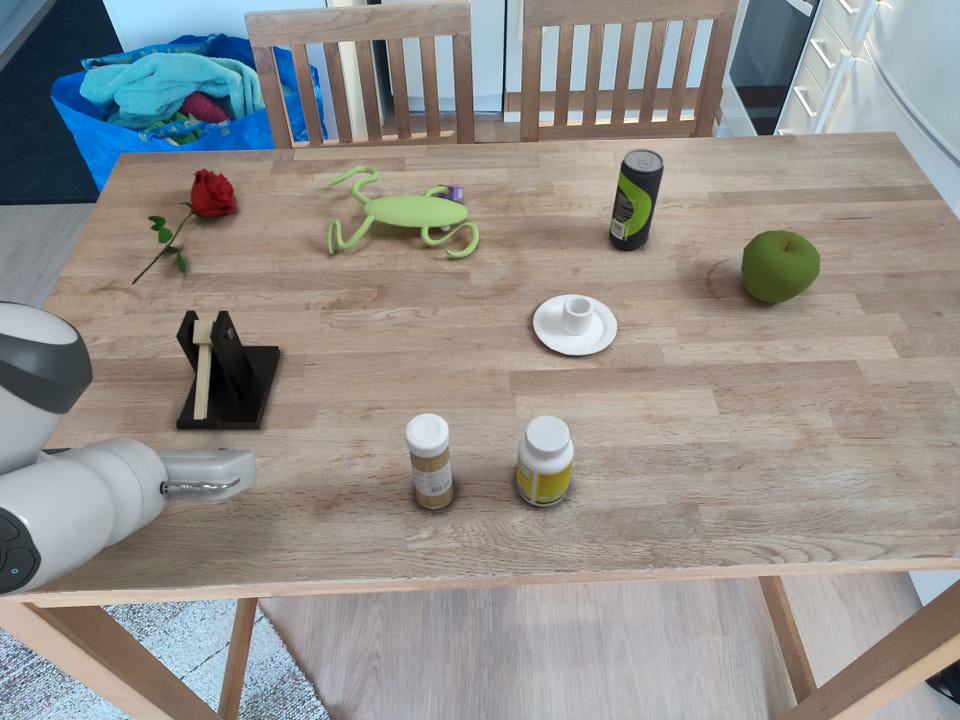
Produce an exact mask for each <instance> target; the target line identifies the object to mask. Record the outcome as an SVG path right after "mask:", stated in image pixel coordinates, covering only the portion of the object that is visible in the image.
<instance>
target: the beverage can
mask: <svg viewBox="0 0 960 720" xmlns="http://www.w3.org/2000/svg"><path fill="white" fill-rule="evenodd" d="M664 166H665V165H664V158H663V156H662V155H661V154H660V153H658V152H656V151H654V150H652V149H647V148H635V149H632V150H629V151H627V152H626V153H625V154H624V156H623V160H622V161H621V163H620V168H619V174H618V180H617V186H616V191H615V197H614V202H613V208H612V212H611V213H612V214H611V218H610V219H611V220H610V224H609V232H608V238H609V240H610V242H611V243H612V244H613V245H614V246H615V247H617V248H619V249H621V250H623V251H624V250H625V251H634V250H638V249H640V248H641V247H643V246H644V245H646V244H647V241H648V239H649V234H650V229H651V226H652V222H653V217H654V212H655V210H656V205H657V201H658V195H659V191H660V187H661V182H662V179H663V174H664V170H665V167H664Z"/></svg>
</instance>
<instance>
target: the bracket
mask: <svg viewBox="0 0 960 720" xmlns="http://www.w3.org/2000/svg"><path fill="white" fill-rule="evenodd" d="M195 320H200V318H199V316H198V314H197V311H196V310H191V309H189V310H186V312H185V314H184V317H183V319H182V321H181V324H180V326H179V328H178V331H177V332H176V335H175V338H176V340H177V342H178V344H179V345H180V348H181V349H182V351H183V353H184V356H185V357H186V358H187V361H188V363H189V365H190V366H191V368H192V370H193V372H194V373H195V376H194V378H193V380H192V383H191V387H190V389H189V392H188V395H187V397H186V400H185V402H184V405H183V407H182V410H181V413H180V416H179V418H194V410H195V398H196V386H197V374H198V361H199V349H200V346H199V345H197V344H195V343H193V334H194V322H195ZM214 321H215V324H214V327H213V329H212V332H211V334H210V339H211V341H212V343H213V345H214V347H212V352H211V365H210V378H209V390H208V403H207V416H206V418H221V419H222V421H223V426H222V429H221V430H260V427H261V424H262V421H263V417H264V414H265V411H266V406H267V403H268V399H269V396H270V392H271V389H272V384H273V382H274V378H275V374H276V371H277V368H278V364H279V361H280V356H281V350H280V347H279V346H278V345H243V344H242V341H241V339H240V337H239V334H238V332H237V330H236V327H235V325H234V322H233V320H232V318H231V316H230V313H229V310H219V311H218V314H217V315H216V319H215V320H214Z"/></svg>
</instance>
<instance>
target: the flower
mask: <svg viewBox="0 0 960 720" xmlns="http://www.w3.org/2000/svg"><path fill="white" fill-rule="evenodd" d="M234 193H235V188H234V186H233V184H231V182H230V180H228V178H227V177H225V175H224V174H223V173H219V174H218V175H216V173H215V172H214V170H211V171H209V170H208V169H207V168H202V169H201V170H196V171H195V173H194V180H193V183H192V187H191V190H190V202H179V203H178V205H186V206H188V207H189V209H190V213H189V214H188V215H187V216H186V217H185V218H184V219H183V221H181V223H180V224H179V226H178V228H177V230H176V232H175V233H174V234H173V232H172V231H171V229H169V228H168V227H165V225H166V223H167V220H166V218H165V217H163V216H160V215H150V216H148V218H147V220H149V221H152V222H153V225H151V227H150V229H151V230H152V231H154V232H157V233H158V234H157V243H158V244H165V247H164V248H163V249H162V250H161V252H159V254H157V256H155V257H154V259H153V261H151V263H150V264H149V265H147V267H145V269H143V271H142V272H140V273H139V275H138V276H137V277H135V278H134V280H133V281H132V283H131V285H132V286H133V285H135V284H136V283H137V282H138V280H140V279H141V278H142V277H143V276H144V274H145V273H146V272H147V271H148V270H149V269H150V268H152V266H153V265H154V264H155V263H157V261H158V260H159V259H160V258H161V257H162V256H165V255H167V254H169V253H170V252H172V251H174V250H176V251H177V254H176V260H177V264H178V267H179V269H180V271H181V272H182V273H183V274H185V273H186V264H185V261H184V259H183V257H182V255H181V254H180V252H179V251H180V250H181V247H174V246H172V244H173V243H174V241H175V239H176V238H177V236H178V234H179V233H180V231H181V229H182V228H183V226H184V224H185V223H186V222H187V220H188V219H190V217H191V216H192V215H193V216H195V217H196V225H197V227H198V226H199V223H200V222H201V221H202V218H201V216H202V217H203V216H204V217H211V216H217V215H221V214H229V215H231V213H235V212H236V208H235V207H237V203H236V200H235V197H234Z"/></svg>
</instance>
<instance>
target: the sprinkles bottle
mask: <svg viewBox="0 0 960 720" xmlns="http://www.w3.org/2000/svg"><path fill="white" fill-rule="evenodd" d="M404 438H405V444H406V447H407V449H408V450H409V451H408V452H409V460H410V465H411V471H412V477H413V483H414V486H415V496H416V500H417V502H418V503H419V504H420V506H421V507H423V508H425V509H428V510H432V511H433V510H434V511H436V510H441V509H443V508H445V507H447V506H448V505H449V504H450V503H451V502H452V500H453V498H454V494H455V489H454V485H453V472H452V462H451V453H450V447H449V446H450V445H449V444H450V440H451V439H450V428H449V425H448V423H447V421H446V420H445V419H444V418H443V417H441V416H440V415H438V414H435V413H428V412H427V413H426V412H425V413H420V414H418V415H415V416H414V417H413V418H411V419H410V420H409V422H408V423H407V425H406V426H405V430H404Z"/></svg>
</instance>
